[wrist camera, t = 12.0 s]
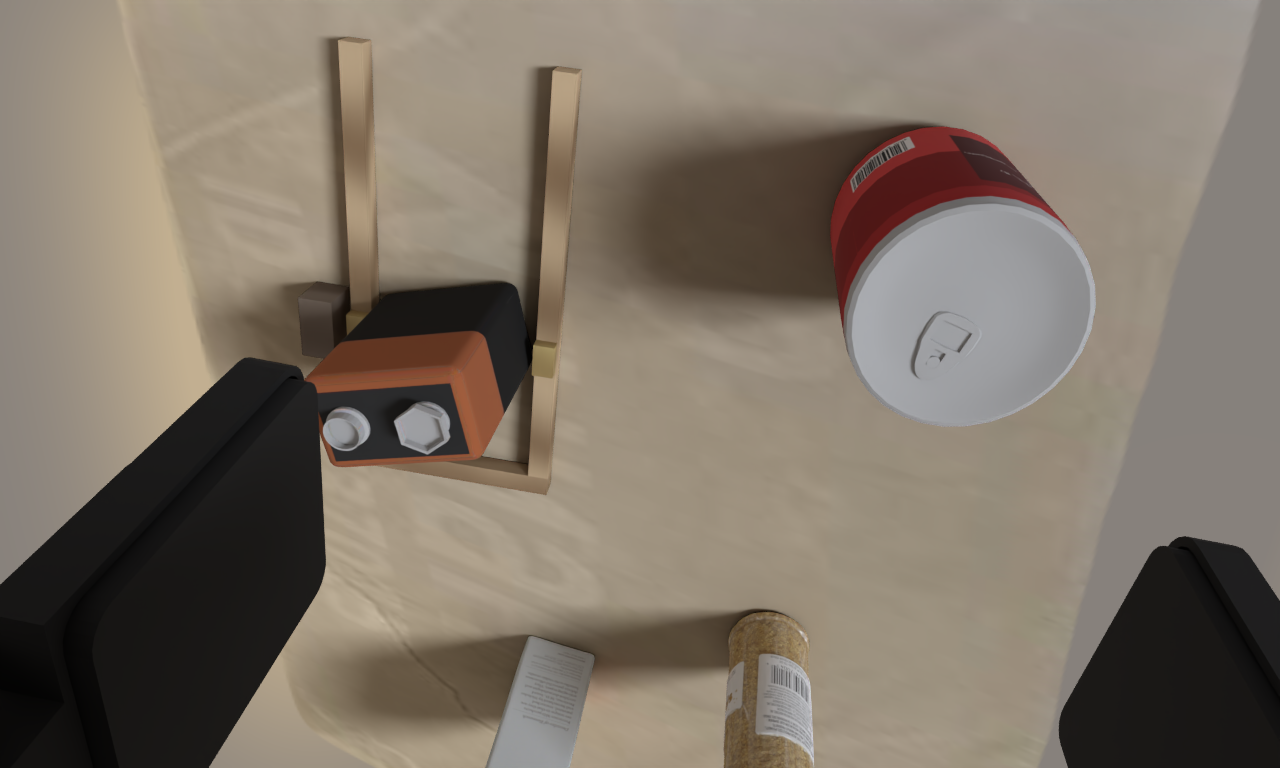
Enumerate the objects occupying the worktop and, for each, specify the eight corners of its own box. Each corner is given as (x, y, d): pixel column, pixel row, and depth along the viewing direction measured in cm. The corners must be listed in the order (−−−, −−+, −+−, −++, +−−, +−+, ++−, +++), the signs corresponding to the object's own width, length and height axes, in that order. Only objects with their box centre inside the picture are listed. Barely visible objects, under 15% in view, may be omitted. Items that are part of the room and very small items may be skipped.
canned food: (810, 285, 41) (819, 406, 31) (856, 104, 37) (882, 179, 27) (981, 317, 40) (1043, 450, 31) (1046, 138, 37) (1140, 226, 27)
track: (299, 30, 38) (277, 36, 37) (581, 69, 38) (571, 78, 36) (328, 446, 49) (311, 466, 47) (550, 483, 48) (541, 506, 46)
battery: (536, 361, 45) (477, 476, 36) (406, 371, 46) (319, 484, 37) (518, 278, 43) (450, 378, 34) (383, 291, 44) (284, 390, 35)
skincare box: (574, 720, 56) (527, 909, 46) (508, 699, 56) (445, 884, 46) (598, 652, 53) (554, 838, 43) (528, 630, 53) (467, 811, 43)
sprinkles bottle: (712, 629, 51) (692, 849, 39) (779, 595, 49) (779, 815, 38) (760, 680, 53) (754, 908, 41) (827, 649, 51) (841, 878, 39)
